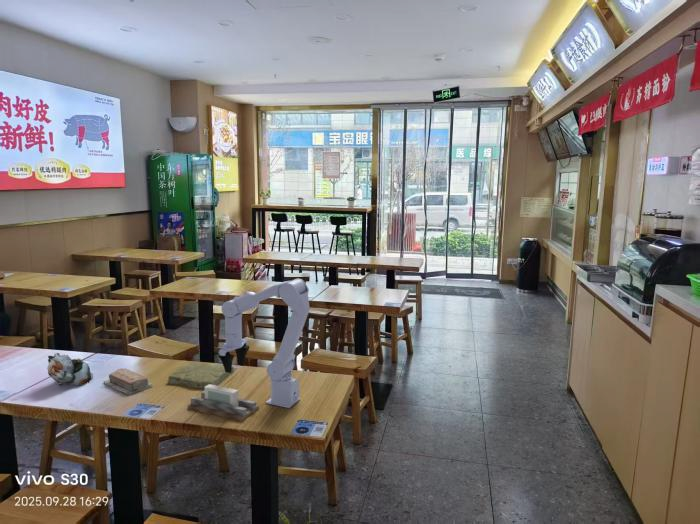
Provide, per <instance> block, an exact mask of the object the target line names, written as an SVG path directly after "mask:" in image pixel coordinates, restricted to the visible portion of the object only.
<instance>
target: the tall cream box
mask: <svg viewBox="0 0 700 524" xmlns="http://www.w3.org/2000/svg"><path fill="white" fill-rule="evenodd" d="M203 391H205V399H207V400H211V401H216V402H220V403H225V404H229V405H234V406H238V407H239V405H238V398H239V390H238V389H234V388H231V387H230V388H229V387H223V386H220V385H217V386H216V385H211V384H209V385H207V386H205V387H204V388H203Z"/></svg>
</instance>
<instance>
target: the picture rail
mask: <svg viewBox="0 0 700 524" xmlns="http://www.w3.org/2000/svg"><path fill="white" fill-rule="evenodd" d="M200 394H201V395H200V397H198V396H197V397H196V396H192V397H190V404H188V405H187V409H189V410H194V411H197V412H202V413H205V414H209V415H210V414H211V415H214V416H218V417H222V418H227V419H230V420H235V421H238V422H242V421H244V420H245V419H247V418H248V417H249V416H250V415H252V414H253V413H255V412H256V411H258V410H259V408H260V406H259V405H257V402H256V401H253V400H249V399H245V398H244V399H243V398H241V397H238V405H239V407H238V406H234V405H229V404H225V403H220V402H216V401H211V400H207V399H205V390H202V391H201V392H200Z"/></svg>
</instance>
